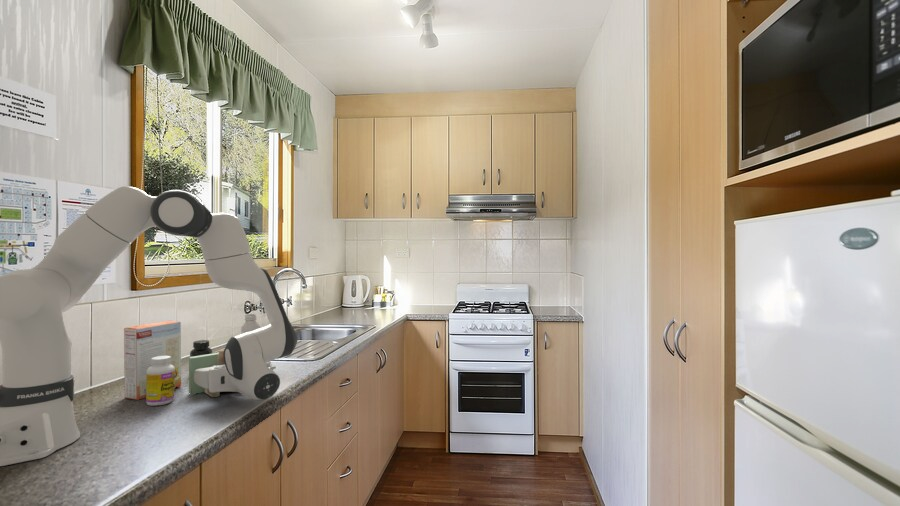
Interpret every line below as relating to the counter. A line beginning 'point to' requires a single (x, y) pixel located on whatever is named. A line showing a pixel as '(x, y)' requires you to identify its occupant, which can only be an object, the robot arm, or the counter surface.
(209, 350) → the supplement bottle
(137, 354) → the cracker box
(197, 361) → the wall
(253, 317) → the plastic bottle
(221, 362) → the dowel
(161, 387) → the supplement bottle
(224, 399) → the counter surface
